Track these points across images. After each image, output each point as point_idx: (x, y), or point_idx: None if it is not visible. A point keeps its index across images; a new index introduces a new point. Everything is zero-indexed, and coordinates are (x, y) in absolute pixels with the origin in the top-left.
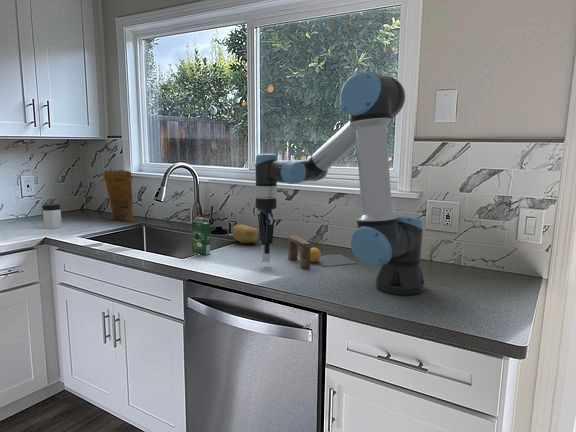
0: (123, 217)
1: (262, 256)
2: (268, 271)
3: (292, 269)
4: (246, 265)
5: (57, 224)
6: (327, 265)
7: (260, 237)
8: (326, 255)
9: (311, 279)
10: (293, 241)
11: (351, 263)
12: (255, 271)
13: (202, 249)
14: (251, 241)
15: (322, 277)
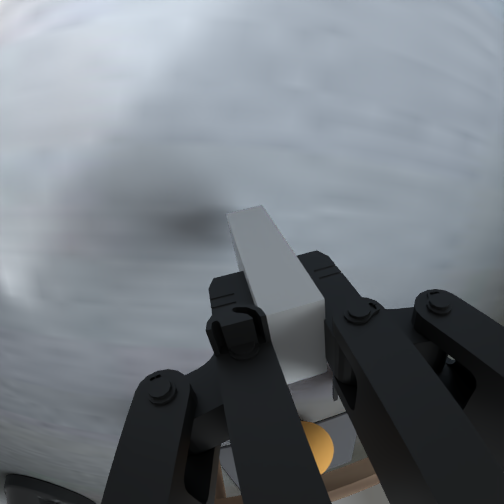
0: None
1: (248, 230)
2: (111, 236)
3: (165, 365)
4: (295, 75)
5: None
6: (221, 457)
7: (444, 327)
8: (353, 442)
9: (30, 401)
10: (344, 468)
11: (239, 487)
12: (111, 139)
13: None
14: None
15: (66, 431)
